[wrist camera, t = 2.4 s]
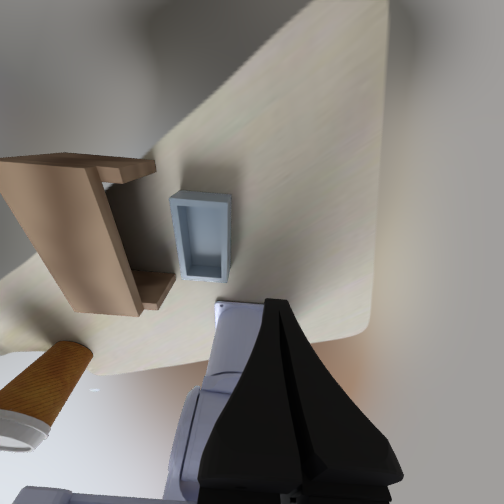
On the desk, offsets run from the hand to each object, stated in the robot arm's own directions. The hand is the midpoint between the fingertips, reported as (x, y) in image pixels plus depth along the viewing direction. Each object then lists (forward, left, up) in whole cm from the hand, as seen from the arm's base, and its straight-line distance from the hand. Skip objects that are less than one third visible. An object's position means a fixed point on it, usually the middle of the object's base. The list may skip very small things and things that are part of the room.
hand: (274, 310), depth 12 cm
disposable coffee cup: (+32, +26, -11) cm, 43 cm away
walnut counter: (+15, 0, -10) cm, 18 cm away
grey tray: (+7, 0, -11) cm, 13 cm away
